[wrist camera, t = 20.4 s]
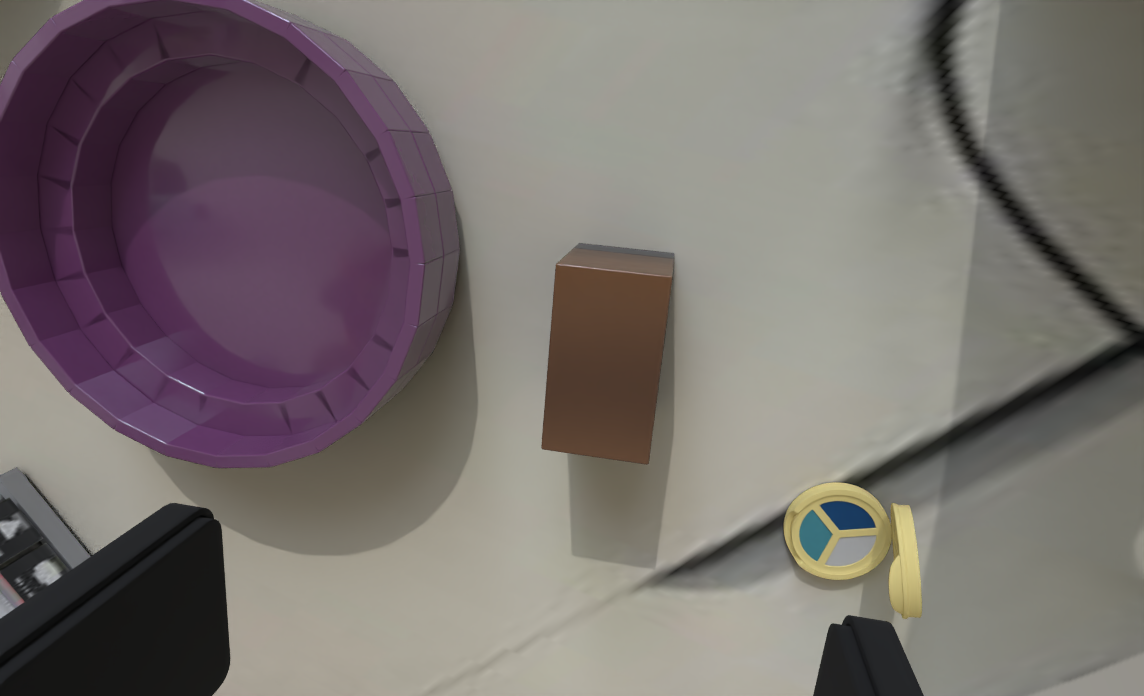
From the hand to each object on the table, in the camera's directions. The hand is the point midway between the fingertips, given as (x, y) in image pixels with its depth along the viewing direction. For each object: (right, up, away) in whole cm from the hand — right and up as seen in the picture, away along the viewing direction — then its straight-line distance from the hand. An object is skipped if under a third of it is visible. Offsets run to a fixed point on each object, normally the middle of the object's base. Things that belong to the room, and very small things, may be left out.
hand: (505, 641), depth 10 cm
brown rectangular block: (+3, +5, +19) cm, 20 cm away
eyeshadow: (+13, -3, +20) cm, 24 cm away
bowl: (-13, +10, +21) cm, 26 cm away
